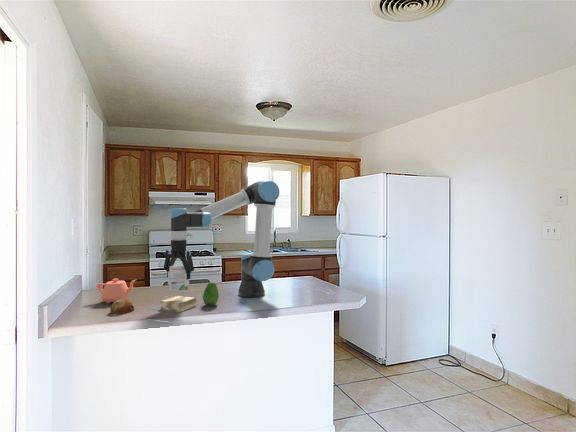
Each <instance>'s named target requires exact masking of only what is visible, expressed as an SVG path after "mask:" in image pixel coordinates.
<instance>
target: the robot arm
mask: <svg viewBox="0 0 576 432" xmlns="http://www.w3.org/2000/svg"><path fill="white" fill-rule="evenodd" d="M279 197H280V188H279V186H278V184H277V183H276V182H275V181H273V180H269V179H265V180H261V181H256V182H253V183H252V184H250V185H249V186H246V187H244V188H241V190H240V191H239V192H237V193H235V194H234V193H233V195H229V196H227V197H226V198H223V199H220V200H218V201H216V202H213V203H211V204H209V205H206V206H204V207H201V208H199V209H197V210H194V211H190V212H189V211H188V210H187V208H185V207H184V208H182V207H180V208H177V207H176V208H175V207H174V208H172V209H171V210H170V211H171V212H170V239H171V241H170V248H171V249H167V250H165V260H164V263H163V270H164V271H166V277H167V285H169V278H170V266H175V262H176V261H177V259H178V260H179V259H180V261H181V264H182V265H183V266H184V268H185V271H186V272H185V286H190V279H191V272H194V271H195V268H194V261H193V258H192V257H193V256H192V252H193V251H191V250H187V244H188V243H187V241H188V240H187V234H188V233H187V231H188V230H187V228H209V227H210V226H211V225H212V219H215V218H217V217H220V216H223V215H224V214H226V213H229V212H231V211H233V210H236V209H238V208H241V207H242V206H245V205H247V206H249V205H252V204H253V205H254V206H255V208H256V212H255V225H254V226H255V228H254V243H253V245H254V246H253V252H252V253H251V254H244V255H241V257H240V258H241V260H240V263H241V264H240V265H241V267H240V269H241V270H240V271H241V272H240V275H241V276H240V277H241V280H240V285H239V287H238V294H237V296H239V297H243V298H259V297H263V296H265V293H266V292H265V288H264V285H263V282H267V281H269V280H270V279H271V278H272V277H273V275H274V274H275V266H274V263H273V255H272V254H271V253H270V252H271V234H272V222H273V221H272V220H273V219H272V218H273V209H274V208H275V207H276V205H277V204H276V203H277V200H278V198H279Z"/></svg>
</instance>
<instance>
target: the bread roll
mask: <svg viewBox="0 0 576 432" xmlns="http://www.w3.org/2000/svg"><path fill="white" fill-rule="evenodd" d="M109 309H110V313H111V314H112V315H116V314H118V315H119V314H128V313H132V312H133V311H134V310H135V309H136V308H135V305H134V303H133V302H132V301H130V300H128V299H126V300H125V299H119V300H117V301H115V302H112V304H111V306H110V308H109Z"/></svg>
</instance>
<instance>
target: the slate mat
mask: <svg viewBox="0 0 576 432" xmlns="http://www.w3.org/2000/svg"><path fill="white" fill-rule="evenodd" d="M196 306H198V304H196ZM196 306H194V307H193V308H195V307H196ZM148 310H153V311H161V312H163V311H164V312H169V313H177V314H178V313H181V312H183V311H181V312H180V311H172V310H164V309H161V304H157V305H156V306H153V307H152V306H151V307H149V308H148Z"/></svg>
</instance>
